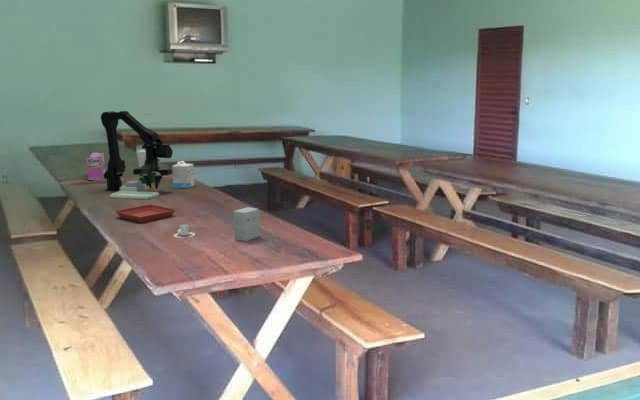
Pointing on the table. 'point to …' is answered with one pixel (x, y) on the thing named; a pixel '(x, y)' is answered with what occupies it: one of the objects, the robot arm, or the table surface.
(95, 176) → the pink product box
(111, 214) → the table surface
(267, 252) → the table surface
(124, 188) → the frame
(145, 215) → the plant saucer
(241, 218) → the small box
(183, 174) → the ink box
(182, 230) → the charger with coiled cable
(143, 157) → the milk carton
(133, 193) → the tray
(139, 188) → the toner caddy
